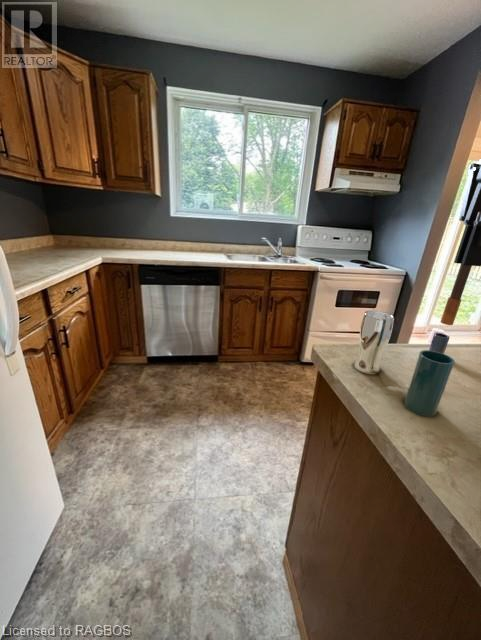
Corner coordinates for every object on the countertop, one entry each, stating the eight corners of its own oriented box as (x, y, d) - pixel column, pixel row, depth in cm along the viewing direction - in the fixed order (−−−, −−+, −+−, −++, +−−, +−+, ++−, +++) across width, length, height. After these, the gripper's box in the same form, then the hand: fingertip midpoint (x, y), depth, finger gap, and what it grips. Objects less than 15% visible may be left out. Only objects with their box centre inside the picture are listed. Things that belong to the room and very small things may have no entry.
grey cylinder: (438, 355, 81) (445, 333, 78) (444, 361, 77) (452, 338, 75) (425, 353, 81) (431, 332, 79) (430, 359, 78) (438, 337, 75)
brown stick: (449, 322, 53) (487, 212, 46) (455, 325, 51) (495, 212, 44) (438, 321, 53) (474, 211, 46) (443, 324, 51) (481, 211, 44)
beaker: (427, 401, 59) (444, 352, 55) (441, 418, 54) (461, 365, 50) (400, 397, 60) (415, 348, 56) (411, 414, 55) (428, 362, 50)
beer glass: (356, 359, 76) (367, 308, 70) (383, 367, 72) (397, 314, 67) (349, 369, 70) (361, 315, 65) (378, 378, 67) (393, 322, 61)
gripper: (464, 120, 47) (425, 257, 56) (533, 80, 34) (468, 269, 42) (512, 121, 46) (465, 260, 54) (604, 79, 33) (523, 273, 41)
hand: (466, 264), depth 48 cm, fingers closed on brown stick, 2 cm apart
